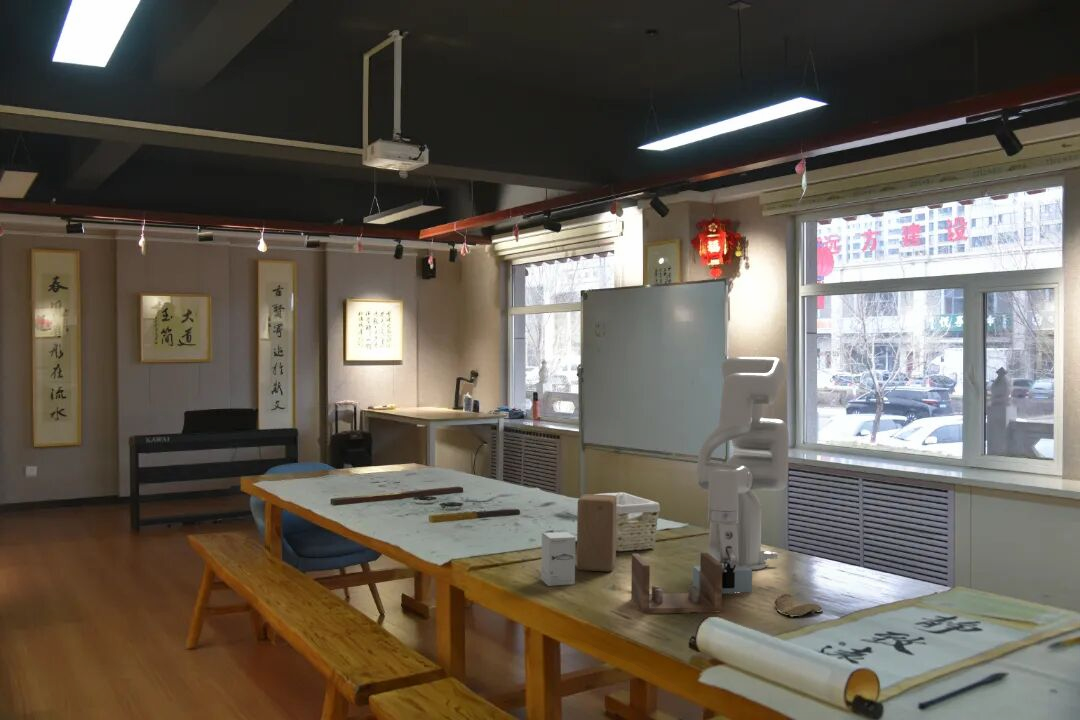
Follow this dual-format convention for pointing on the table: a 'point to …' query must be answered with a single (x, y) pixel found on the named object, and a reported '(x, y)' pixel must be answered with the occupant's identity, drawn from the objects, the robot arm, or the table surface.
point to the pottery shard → (794, 606)
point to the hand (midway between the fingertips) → (721, 583)
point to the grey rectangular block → (741, 579)
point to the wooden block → (596, 532)
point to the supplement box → (558, 558)
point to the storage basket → (635, 522)
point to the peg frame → (678, 602)
